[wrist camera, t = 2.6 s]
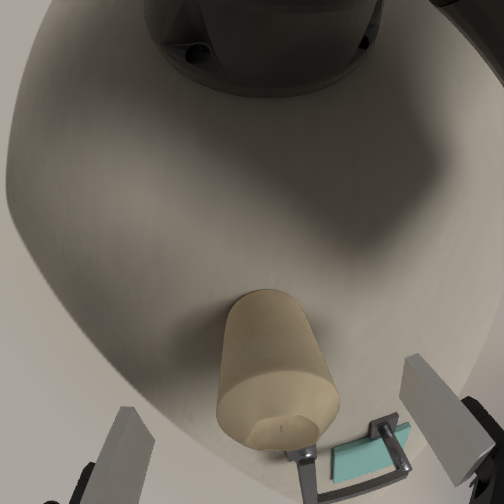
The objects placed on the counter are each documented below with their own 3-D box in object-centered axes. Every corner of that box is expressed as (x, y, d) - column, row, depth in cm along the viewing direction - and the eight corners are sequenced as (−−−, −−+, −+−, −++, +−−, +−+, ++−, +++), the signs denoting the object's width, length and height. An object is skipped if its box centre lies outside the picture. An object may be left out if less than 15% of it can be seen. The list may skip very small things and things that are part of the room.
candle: (227, 357, 20) (220, 472, 10) (223, 288, 18) (206, 397, 8) (301, 354, 20) (335, 463, 10) (307, 286, 18) (362, 386, 9)
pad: (333, 447, 23) (335, 452, 22) (408, 421, 23) (410, 426, 22) (332, 479, 25) (333, 483, 25) (395, 458, 25) (397, 462, 24)
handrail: (271, 383, 20) (281, 458, 13) (408, 346, 20) (453, 400, 13) (287, 457, 23) (296, 513, 16) (392, 428, 23) (417, 475, 16)
